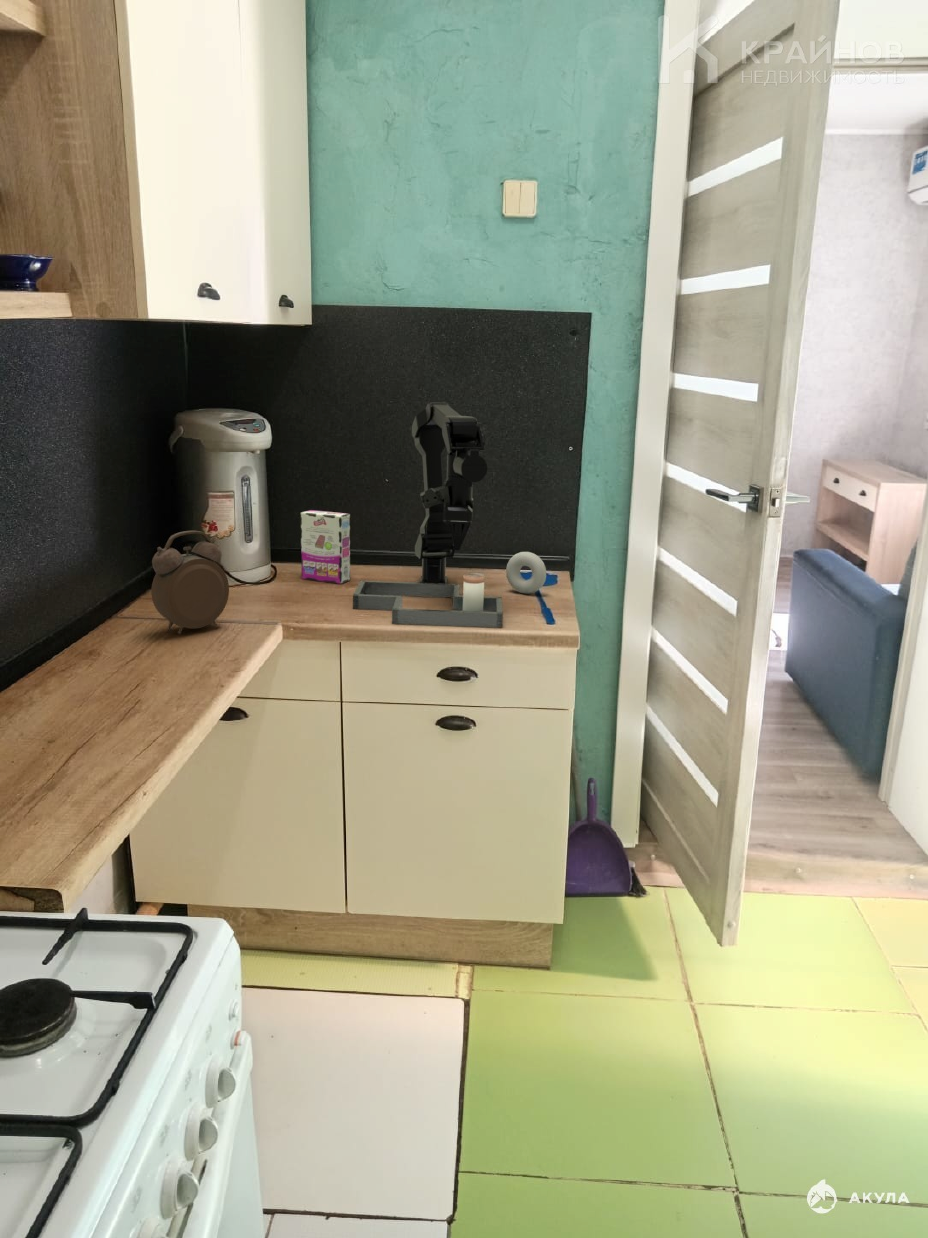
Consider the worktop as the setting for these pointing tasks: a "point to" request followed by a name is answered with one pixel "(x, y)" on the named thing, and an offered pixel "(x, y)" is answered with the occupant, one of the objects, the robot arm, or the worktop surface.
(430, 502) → the robot arm
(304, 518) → the candy bar box
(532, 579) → the donut
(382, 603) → the channel
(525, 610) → the worktop surface
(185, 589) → the alarm clock
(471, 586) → the peg
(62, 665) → the worktop surface
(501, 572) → the worktop surface
